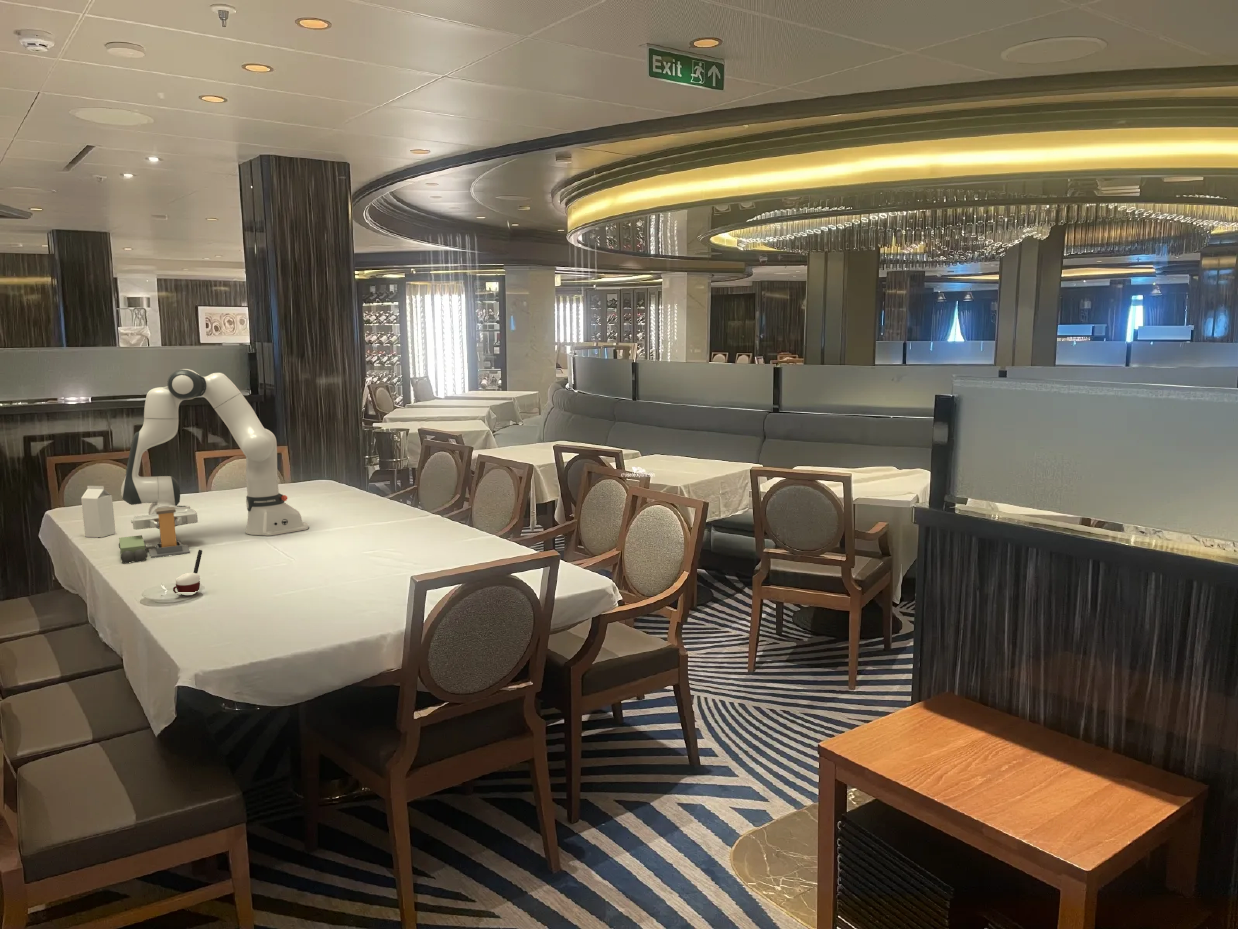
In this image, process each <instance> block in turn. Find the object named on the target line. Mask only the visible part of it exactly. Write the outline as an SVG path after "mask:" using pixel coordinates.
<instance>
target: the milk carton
mask: <svg viewBox="0 0 1238 929" xmlns="http://www.w3.org/2000/svg"><path fill="white" fill-rule="evenodd" d="M86 488H87V489H86V491H84V493H83V495H82V496H81V498H80V499H81V500H80V501H81V509H82V520H83V527H84V528H83V530H84V536H85V538H98V537H102V538H104V537H107V536H112V535H114V534H117V532H116V522H115V514H114V503H113V495H112V494H111V493H110V492H109V491H108V490H106V489H105V486H104V485H87V486H86Z"/></svg>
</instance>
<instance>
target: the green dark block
mask: <svg viewBox="0 0 1238 929" xmlns="http://www.w3.org/2000/svg"><path fill="white" fill-rule="evenodd" d="M118 541H119V542H118V547H119V551H120V561H121V564H130V563H129V562H131V563H133V562H132V561H135V562H138V561H141V562H144V561H146V560H147V557H148V553H147V545H146V541H145V540H144V538H143V535H142V534H141V535H140V534H139V535H131V536H122V537H119V538H118ZM123 562H124V563H123Z"/></svg>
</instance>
